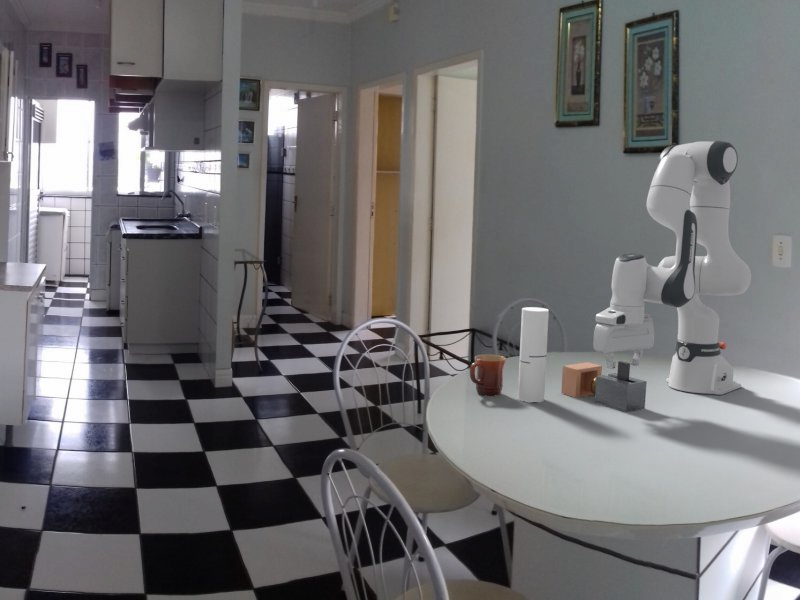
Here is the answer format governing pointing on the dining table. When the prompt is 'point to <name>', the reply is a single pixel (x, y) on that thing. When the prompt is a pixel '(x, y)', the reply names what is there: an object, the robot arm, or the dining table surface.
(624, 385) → the sleeve
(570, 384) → the peach pocketed block
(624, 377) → the tube
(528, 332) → the cylindrical container
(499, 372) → the mug
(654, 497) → the dining table surface
